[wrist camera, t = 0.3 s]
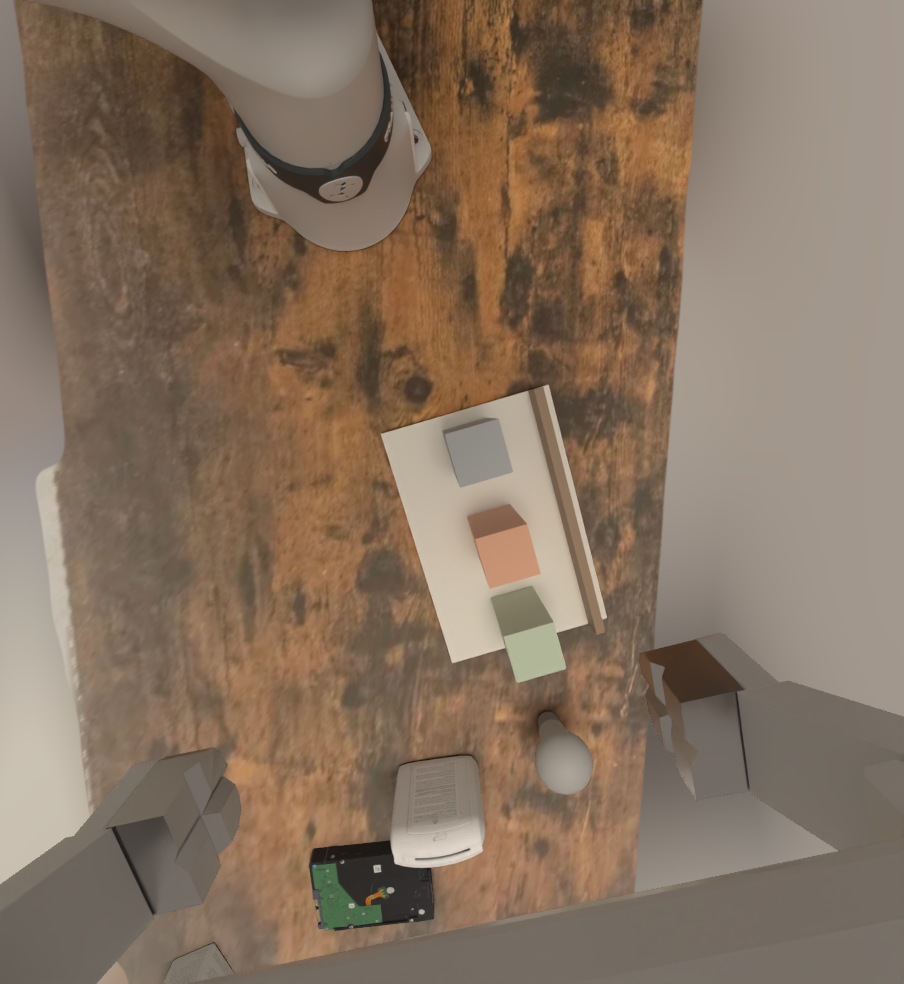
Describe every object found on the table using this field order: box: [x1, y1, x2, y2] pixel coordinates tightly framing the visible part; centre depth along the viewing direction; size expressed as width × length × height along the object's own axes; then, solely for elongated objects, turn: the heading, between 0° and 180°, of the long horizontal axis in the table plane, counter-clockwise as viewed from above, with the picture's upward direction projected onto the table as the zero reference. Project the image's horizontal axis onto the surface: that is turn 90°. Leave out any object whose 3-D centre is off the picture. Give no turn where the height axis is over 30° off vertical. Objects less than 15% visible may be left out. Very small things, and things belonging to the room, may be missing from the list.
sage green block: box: [491, 586, 566, 683], centre depth 52 cm, size 5×5×10 cm
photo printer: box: [390, 756, 485, 868], centre depth 56 cm, size 10×4×12 cm, turn 98°
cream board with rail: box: [381, 385, 607, 663], centre depth 55 cm, size 28×19×4 cm
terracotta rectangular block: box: [467, 504, 541, 589], centre depth 51 cm, size 5×5×10 cm
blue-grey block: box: [442, 418, 513, 488], centre depth 49 cm, size 5×5×10 cm
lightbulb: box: [535, 712, 593, 795], centre depth 56 cm, size 6×6×11 cm
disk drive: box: [309, 841, 434, 931], centre depth 63 cm, size 10×3×15 cm
